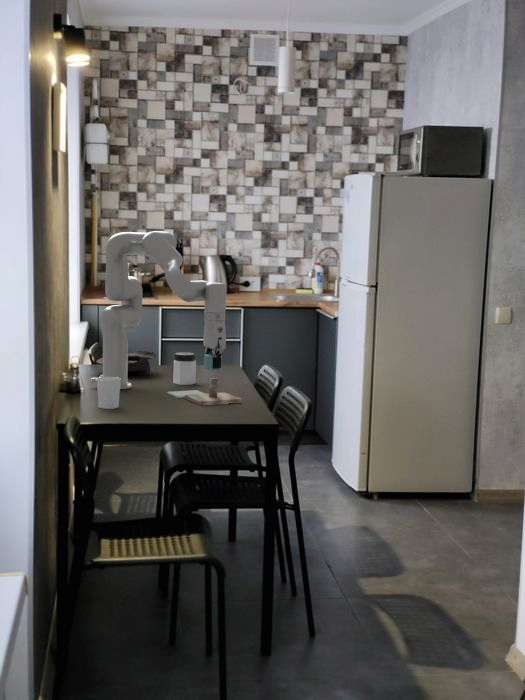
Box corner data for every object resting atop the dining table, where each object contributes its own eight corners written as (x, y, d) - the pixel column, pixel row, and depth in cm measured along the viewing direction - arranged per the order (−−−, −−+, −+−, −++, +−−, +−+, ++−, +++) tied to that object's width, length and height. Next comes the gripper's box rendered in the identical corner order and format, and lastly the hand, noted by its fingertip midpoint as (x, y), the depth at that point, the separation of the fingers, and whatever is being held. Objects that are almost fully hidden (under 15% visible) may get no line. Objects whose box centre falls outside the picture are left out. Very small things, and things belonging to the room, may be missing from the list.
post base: (200, 405, 324) (201, 383, 323) (185, 398, 336) (185, 377, 335) (241, 402, 332) (242, 380, 331) (224, 396, 344) (225, 375, 343)
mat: (177, 398, 337) (177, 396, 337) (167, 393, 346) (167, 391, 346) (207, 396, 343) (207, 394, 343) (196, 391, 352) (196, 390, 352)
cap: (223, 369, 332) (224, 354, 331) (208, 370, 329) (209, 355, 328) (216, 367, 337) (217, 352, 336) (201, 367, 334) (202, 352, 333)
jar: (199, 384, 369) (199, 354, 367) (182, 385, 364) (183, 355, 362) (186, 380, 376) (187, 351, 374) (169, 382, 370) (170, 352, 369)
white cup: (99, 404, 321) (99, 376, 319) (122, 405, 320) (122, 377, 319) (94, 409, 313) (94, 379, 312) (117, 409, 313) (118, 380, 311)
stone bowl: (168, 373, 391) (167, 352, 390) (123, 384, 373) (122, 362, 371) (129, 365, 407) (128, 345, 405) (84, 376, 388) (83, 354, 387)
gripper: (234, 319, 324) (232, 370, 327) (214, 314, 339) (212, 362, 342) (215, 320, 321) (213, 371, 323) (195, 314, 336) (193, 363, 338)
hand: (212, 366), depth 333 cm, fingers closed on cap, 6 cm apart
